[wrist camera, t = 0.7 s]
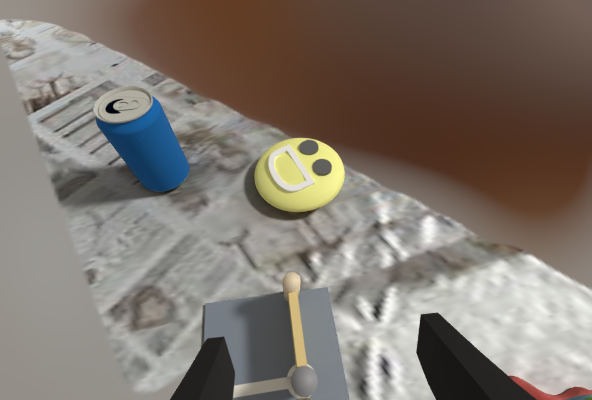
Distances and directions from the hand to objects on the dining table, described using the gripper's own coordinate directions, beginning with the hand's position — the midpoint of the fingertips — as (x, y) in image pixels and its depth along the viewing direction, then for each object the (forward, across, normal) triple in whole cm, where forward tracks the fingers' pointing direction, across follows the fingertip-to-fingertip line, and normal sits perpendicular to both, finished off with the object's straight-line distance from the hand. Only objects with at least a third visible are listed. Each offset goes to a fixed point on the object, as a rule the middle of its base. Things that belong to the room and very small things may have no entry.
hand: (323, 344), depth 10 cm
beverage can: (+30, +18, +2) cm, 35 cm away
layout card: (+10, +4, +16) cm, 19 cm away
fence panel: (+12, +2, +14) cm, 19 cm away
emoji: (+29, 0, +5) cm, 29 cm away
